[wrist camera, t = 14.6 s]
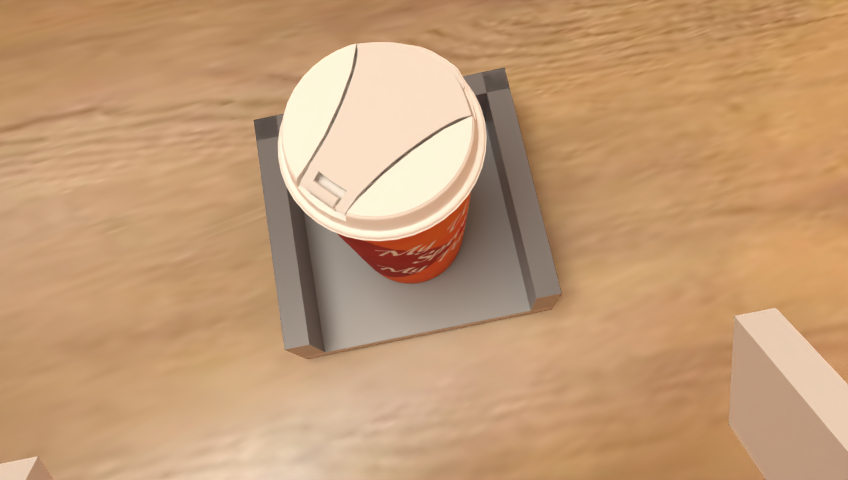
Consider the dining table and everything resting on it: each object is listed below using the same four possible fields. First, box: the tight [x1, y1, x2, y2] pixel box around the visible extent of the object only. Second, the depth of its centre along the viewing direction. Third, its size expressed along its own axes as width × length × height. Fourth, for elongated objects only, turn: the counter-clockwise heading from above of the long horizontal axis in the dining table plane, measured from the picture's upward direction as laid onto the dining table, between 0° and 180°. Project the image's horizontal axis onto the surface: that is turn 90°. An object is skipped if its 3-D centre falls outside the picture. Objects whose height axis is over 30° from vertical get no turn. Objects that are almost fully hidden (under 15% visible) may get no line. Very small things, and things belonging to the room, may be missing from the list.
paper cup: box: [278, 42, 487, 284], centre depth 30 cm, size 8×8×14 cm
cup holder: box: [254, 68, 561, 359], centre depth 36 cm, size 12×13×4 cm
